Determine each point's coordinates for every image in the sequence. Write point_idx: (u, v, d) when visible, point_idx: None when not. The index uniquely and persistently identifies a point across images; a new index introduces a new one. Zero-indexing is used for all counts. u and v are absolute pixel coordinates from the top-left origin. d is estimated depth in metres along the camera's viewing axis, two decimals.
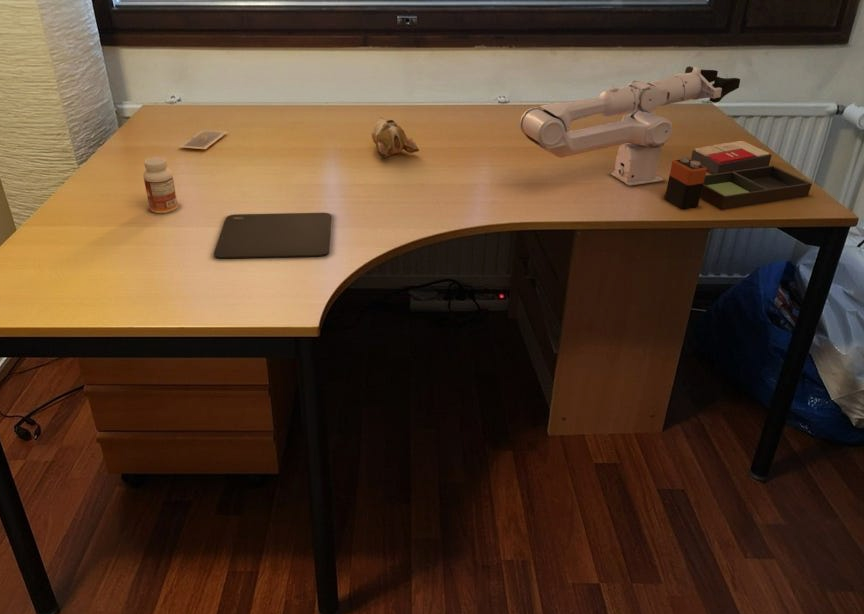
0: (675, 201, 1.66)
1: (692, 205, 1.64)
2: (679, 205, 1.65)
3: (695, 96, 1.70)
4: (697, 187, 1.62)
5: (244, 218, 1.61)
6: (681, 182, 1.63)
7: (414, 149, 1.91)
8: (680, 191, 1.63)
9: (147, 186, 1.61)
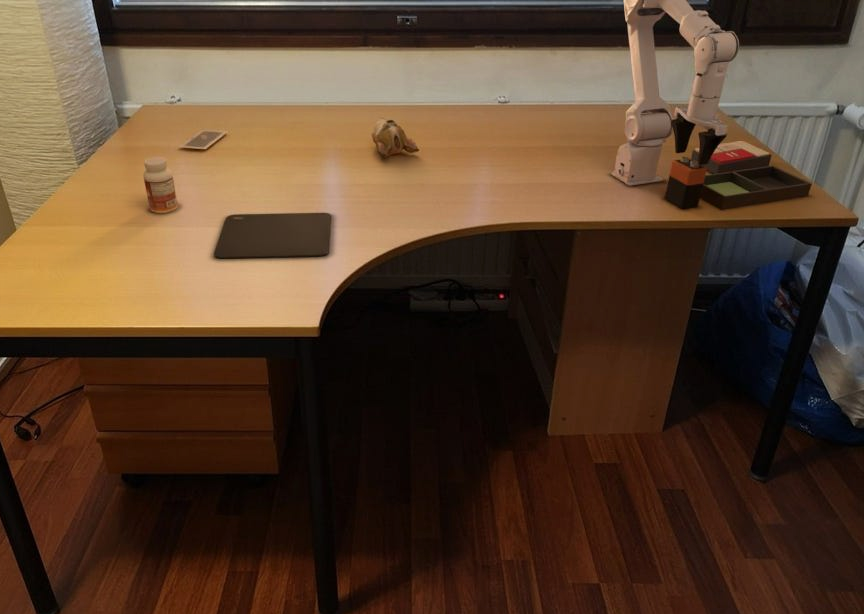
0: (675, 201, 1.66)
1: (692, 205, 1.64)
2: (679, 205, 1.65)
3: (702, 115, 1.54)
4: (697, 187, 1.62)
5: (244, 218, 1.61)
6: (681, 182, 1.63)
7: (414, 149, 1.91)
8: (680, 191, 1.63)
9: (147, 186, 1.61)
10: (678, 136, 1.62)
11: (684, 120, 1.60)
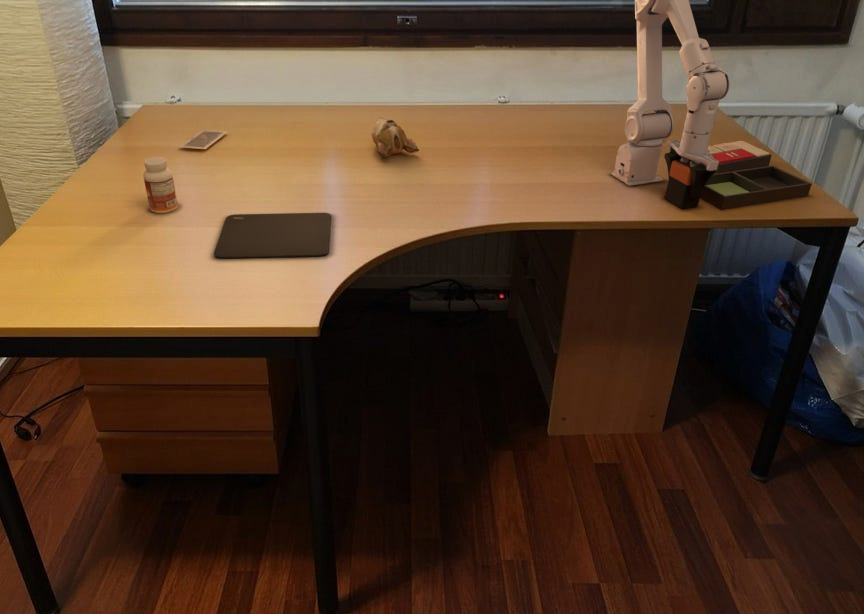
0: (675, 201, 1.66)
1: (692, 205, 1.64)
2: (679, 205, 1.65)
3: (694, 151, 1.58)
4: None
5: (244, 218, 1.61)
6: (681, 182, 1.63)
7: (414, 149, 1.91)
8: (680, 191, 1.63)
9: (147, 186, 1.61)
10: None
11: (677, 154, 1.65)
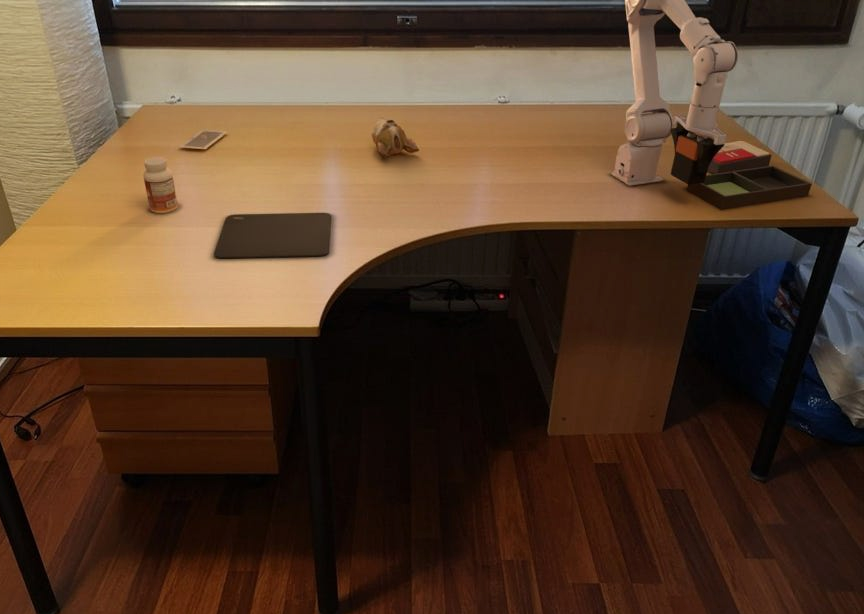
0: (681, 177, 1.63)
1: (699, 181, 1.61)
2: (685, 181, 1.62)
3: (701, 125, 1.55)
4: None
5: (244, 218, 1.61)
6: (688, 157, 1.60)
7: (414, 149, 1.91)
8: (687, 167, 1.60)
9: (147, 186, 1.61)
10: None
11: (684, 129, 1.62)
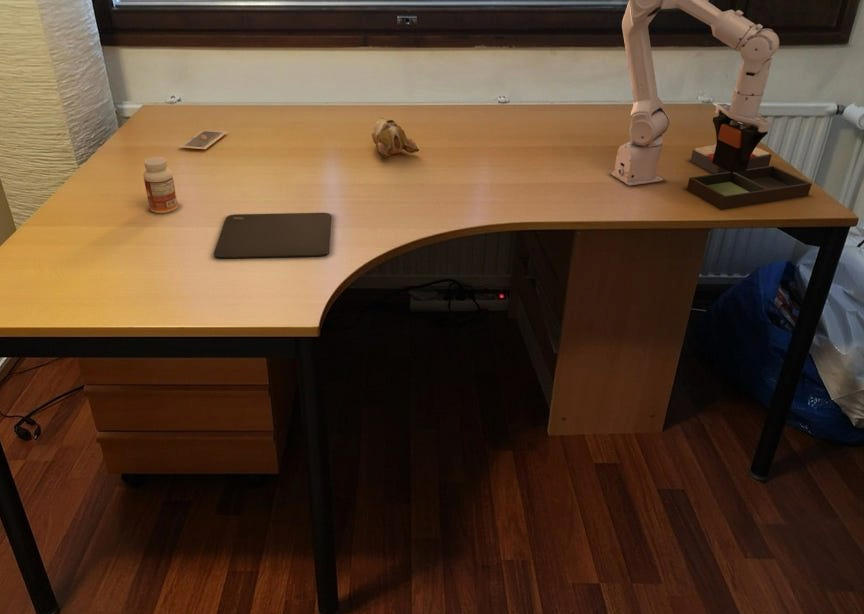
0: (723, 165, 1.65)
1: (741, 169, 1.63)
2: (728, 169, 1.64)
3: (745, 113, 1.57)
4: None
5: (244, 218, 1.61)
6: (730, 145, 1.62)
7: (414, 149, 1.91)
8: (730, 154, 1.62)
9: (147, 186, 1.61)
10: None
11: (726, 117, 1.63)
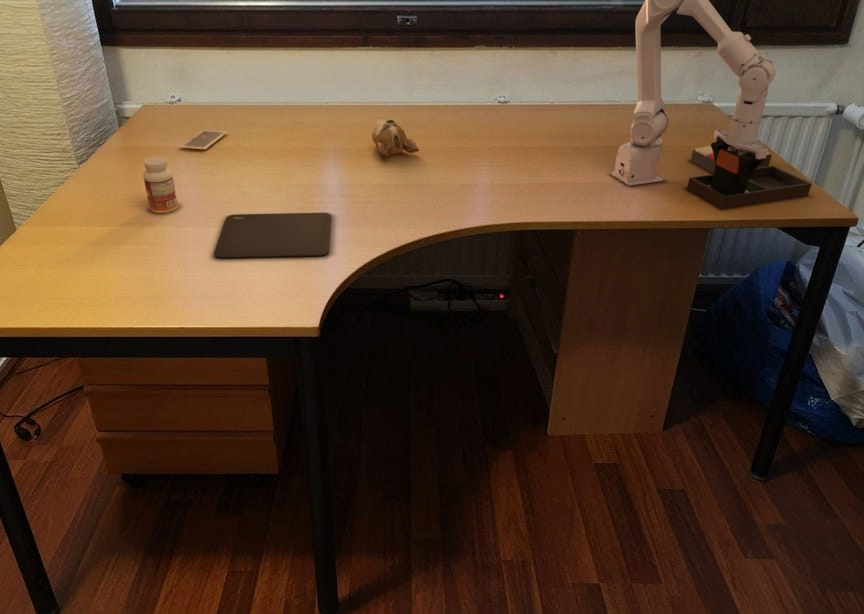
0: (722, 190, 1.68)
1: (739, 193, 1.67)
2: (726, 193, 1.67)
3: (742, 139, 1.60)
4: None
5: (244, 218, 1.61)
6: (728, 171, 1.65)
7: (414, 149, 1.91)
8: (728, 179, 1.66)
9: (147, 186, 1.61)
10: None
11: (724, 143, 1.67)
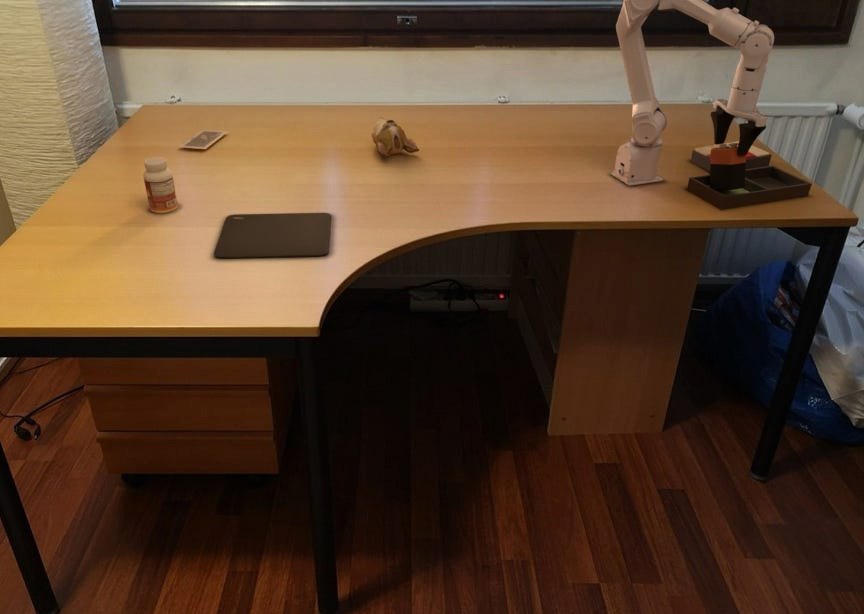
0: (721, 185, 1.68)
1: (739, 186, 1.66)
2: (726, 187, 1.67)
3: (742, 107, 1.59)
4: (740, 166, 1.65)
5: (244, 218, 1.61)
6: (723, 164, 1.66)
7: (414, 149, 1.91)
8: (724, 173, 1.66)
9: (147, 186, 1.61)
10: (717, 128, 1.68)
11: (724, 112, 1.66)
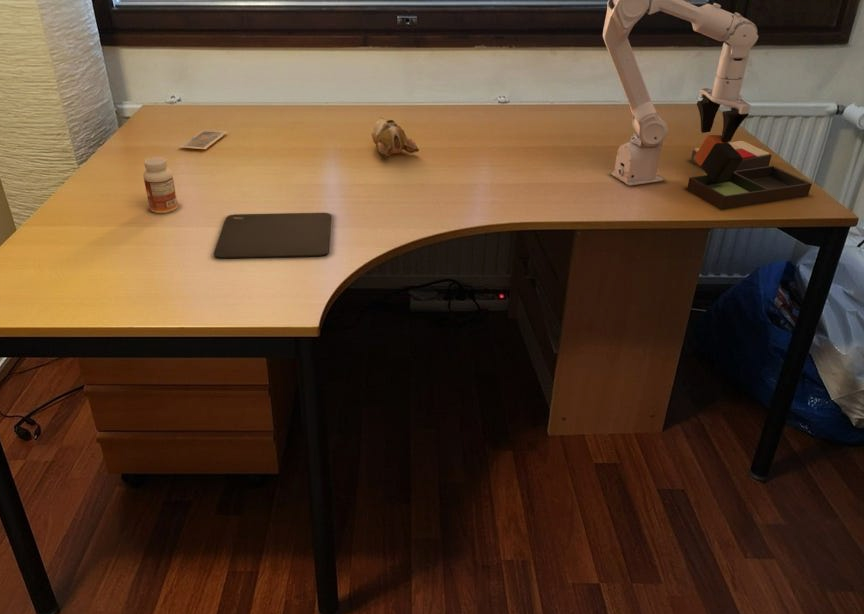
0: (721, 165, 1.68)
1: (736, 156, 1.67)
2: (725, 161, 1.67)
3: (726, 96, 1.65)
4: (726, 145, 1.69)
5: (244, 218, 1.61)
6: (710, 151, 1.70)
7: (414, 149, 1.91)
8: (716, 154, 1.69)
9: (147, 186, 1.61)
10: (704, 116, 1.73)
11: (709, 101, 1.72)
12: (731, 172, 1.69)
